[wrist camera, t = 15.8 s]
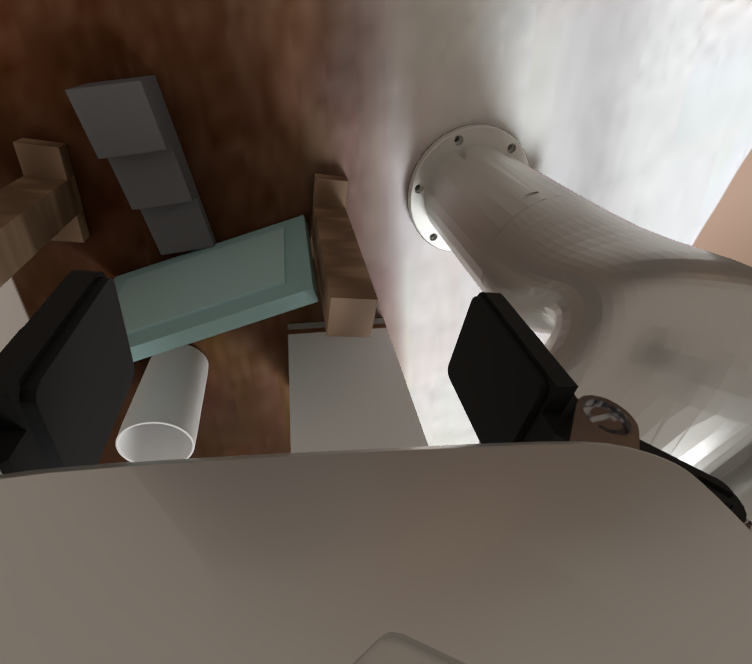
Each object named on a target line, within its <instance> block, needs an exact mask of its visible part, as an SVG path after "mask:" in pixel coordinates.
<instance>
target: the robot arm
mask: <svg viewBox="0 0 752 664" xmlns="http://www.w3.org/2000/svg"><path fill="white" fill-rule="evenodd" d="M456 136H458V139H457V140H456V141H454V139H455V137H456ZM509 145H510V147H509V148H508V146H509ZM507 148H508V149H507ZM417 185H419V187H418V188H415V187H416V186H417ZM408 209H409V214H410V217H411V220H412V223H413V224H414V226H415V228H416V230H417V231H418V232H419V234H420V235H421V236H422V238H423V239H425V240H426V241H427V242H428V243H429V244H431V245H433V246H434V247H436V248H438V249H441V250H445V251H449V252H453V253H454V255H455V256H456V257H457V259H458V260H459V261H460V262H461V264H462V265H463V266H464V268H465V269H466V270H467V272H468V273H469V274H470V276H471V277H472V278H473V280H474V281H475V282H476V284H477V285H478V286H479V287H480V289H481V290H482V291H483V292H481V293H479V295H478V296H477V297H476V296H475V297H474V298H473V299H472V301H471V304H470V306H469V309H468V312H467V315H466V318H465V320H464V323H463V326H462V329H461V332H460V335H459V337H458V340H457V343H456V346H455V349H454V351H453V354H452V357H451V360H450V363H449V366H448V375H449V378H450V380H451V382H452V385H453V387H454V389H455V391H456V393H457V395H458V397H459V399H460V401H461V403H462V405H463V407H464V410H465V412H466V414H467V416H468V418H469V420H470V422H471V424H472V426H473V428H474V430H475V432H476V435H477V437H478V439H479V444H465V445H443V446H421V447H399V448H379V449H359V450H339V451H320V452H300V453H281V454H263V455H245V456H227V457H209V458H191V459H173V460H157V461H141V462H125V463H110V464H98V462H99V460H100V457H101V455H102V452H103V450H104V448H105V445H106V443H107V440H108V438H109V436H110V433H111V431H112V428H113V426H114V423H115V421H116V419H117V416H118V414H119V411H120V409H121V407H122V404H123V402H124V399H125V397H126V395H127V392H128V390H129V387H130V385H131V383H132V380H133V377H134V362H133V358H132V354H131V349H130V345H129V341H128V337H127V332H126V328H125V324H124V320H123V315H122V311H121V307H120V303H119V298H118V294H117V290H116V285H115V282H114V280H113V279H112V278H106V276H105V275H104V273H102V272H95V271H76V270H74V271H71V272H70V273H69V274H68V275H67V276H66V278H65V279H64V280H63V281H62V282H61V283H60V285H59V286H58V287H57V288H56V289H55V291H54V292H53V293H52V294H51V295H50V296H49V298H48V299H47V300H46V301H45V302H44V303H43V305H42V306H41V307H40V308H39V309H38V311H37V312H36V313H35V314H34V315H33V316H32V318H31V319H30V320H29V321H28V322H27V323H26V325H25V326H24V327H23V328H22V329H20V330H19V331H18V333H17V334H16V335H15V336H14V337H13V338H12V339H11V341H10V342H9V343H8V344H7V345H6V347H5V348H4V349H3V350H2V351H1V352H0V664H752V267H750V266H748V265H745V264H743V263H741V262H738V261H736V260H733V259H730V258H727V257H724V256H720V255H718V254H715V253H712V252H709V251H705V250H702V249H699V248H696V247H693V246H690V245H687V244H684V243H681V242H678V241H675V240H672V239H669V238H667V237H664V236H662V235H659V234H656V233H654V232H651V231H649V230H646V229H644V228H641V227H639V226H637V225H635V224H633V223H631V222H629V221H627V220H625V219H623V218H621V217H619V216H617V215H615V214H613V213H611V212H609V211H607V210H605V209H604V208H602V207H600V206H598V205H596V204H595V203H593V202H591V201H589V200H587V199H585V198H584V197H582V196H580V195H578V194H577V193H575V192H573V191H571V190H570V189H568V188H566V187H564V186H562V185H561V184H559V183H557V182H555V181H554V180H552V179H550V178H548V177H547V176H545V175H543V174H541V173H540V172H538V171H536V170H534V169H532V168H531V167H529V163H528V160H527V157H526V154H525V152H524V150H523V148H522V147H521V145H520V143H519V142H518V141H517V140H516V139H515V138H514V137H513V136H512V135H510V134H509V133H507V132H505V131H503V130H502V129H499V128H497V127H494V126H491V125H485V124H473V125H466V126H463V127H459V128H456V129H454V130H452V131H450V132H448V133H446V134H444V135H443V136H442V137H440V138H439V139H438V140H436V141H435V142H434V143H433V144H432V145H431V146H430V147H429V148H428V149H427V150H426V151H425V152H424V154H423V156H422V157H421V159H420V160H419V162H418V163H417V165H416V167H415V169H414V172H413V174H412V176H411V180H410V184H409V188H408ZM431 234H433V235H431ZM430 235H431V236H430ZM533 331H535V332H540V333H548V334H551V336H550V337H549V339H548V340H547V342H546V343H545V345H544V344H543V343H542V342H541V340H540V339H539V338H538V337H537V336H536V334H535V333H534V332H533Z"/></svg>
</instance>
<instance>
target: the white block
mask: <svg viewBox="0 0 752 664" xmlns="http://www.w3.org/2000/svg"><path fill="white" fill-rule="evenodd" d="M288 354H289V392H290V431H291V453H300V452H320V451H339V450H359V449H379V448H399V447H421V446H428V444H427V441H426V438H425V435H424V432H423V430H422V427H421V424H420V421H419V418H418V415H417V413H416V410H415V407H414V404H413V401H412V398H411V396H410V393H409V390H408V387H407V384H406V381H405V379H404V376H403V373H402V370H401V367H400V364H399V362H398V359H397V356H396V353H395V350H394V347H393V344H392V342H391V339H390V336H389V333H388V330H387V327H386V325H385V322H384V319H383V318H374V322H373V327H372V332H371V337H336V336H326V330H325V323H324V322H311V323H295V324H288Z"/></svg>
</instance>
